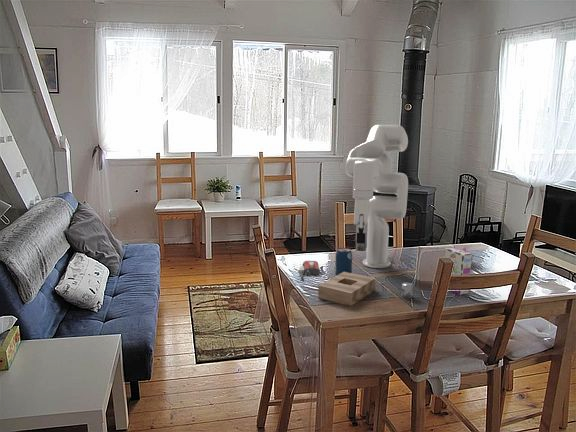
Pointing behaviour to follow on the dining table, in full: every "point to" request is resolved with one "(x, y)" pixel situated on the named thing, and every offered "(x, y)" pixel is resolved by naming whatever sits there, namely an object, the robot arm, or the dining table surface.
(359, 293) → the hole block
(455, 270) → the candy bar box
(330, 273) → the dining table surface
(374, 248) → the robot arm
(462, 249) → the lily
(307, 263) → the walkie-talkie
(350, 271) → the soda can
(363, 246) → the tall pin
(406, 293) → the short pin
